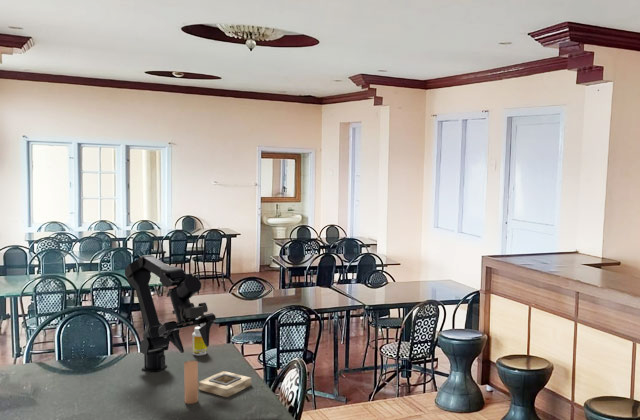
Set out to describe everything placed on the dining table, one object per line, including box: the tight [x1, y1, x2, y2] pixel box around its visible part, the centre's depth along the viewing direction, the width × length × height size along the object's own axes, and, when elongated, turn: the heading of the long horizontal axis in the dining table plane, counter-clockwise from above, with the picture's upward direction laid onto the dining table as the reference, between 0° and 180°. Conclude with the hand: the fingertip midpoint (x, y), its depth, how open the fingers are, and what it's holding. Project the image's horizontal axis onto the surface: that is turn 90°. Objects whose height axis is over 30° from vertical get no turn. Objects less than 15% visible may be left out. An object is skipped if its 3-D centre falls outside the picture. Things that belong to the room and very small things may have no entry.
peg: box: [183, 360, 199, 405], centre depth 176 cm, size 4×4×12 cm
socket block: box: [198, 370, 252, 398], centre depth 187 cm, size 12×12×3 cm
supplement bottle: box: [191, 325, 208, 356], centre depth 221 cm, size 6×6×10 cm
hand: (195, 349), depth 185 cm, fingers open, 9 cm apart
